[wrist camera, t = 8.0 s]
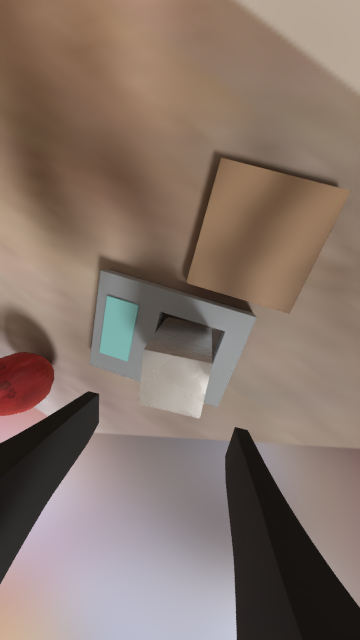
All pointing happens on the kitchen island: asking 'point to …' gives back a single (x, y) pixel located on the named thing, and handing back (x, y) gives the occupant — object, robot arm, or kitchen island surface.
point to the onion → (23, 382)
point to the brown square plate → (263, 234)
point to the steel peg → (177, 367)
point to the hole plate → (144, 320)
